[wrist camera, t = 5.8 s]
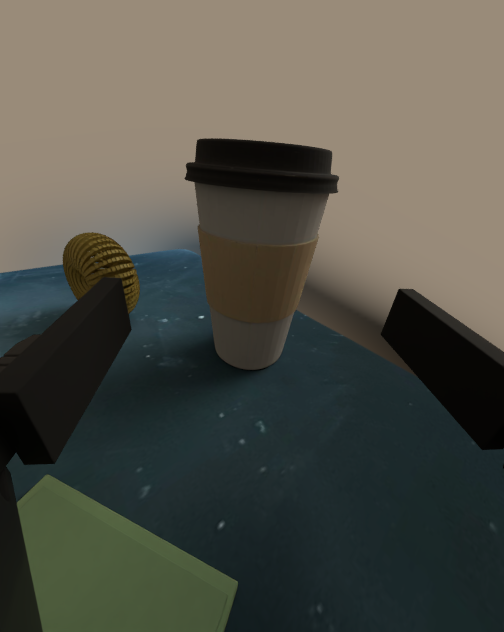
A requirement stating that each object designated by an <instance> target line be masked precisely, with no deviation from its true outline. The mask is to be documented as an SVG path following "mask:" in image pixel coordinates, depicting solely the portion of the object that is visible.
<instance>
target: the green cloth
mask: <svg viewBox="0 0 504 632" xmlns="http://www.w3.org/2000/svg"><path fill="white" fill-rule="evenodd" d="M17 508H18V512H19V517H20V522H21V527H22V532H23V537H24V542H25V546H26V551H27V556H28V561H29V566H30V571H31V576H32V581H33V585H34V590H35V595H36V600H37V605H38V610H39V615H40V619H41V624H42V629H43V632H224V631H225V627H226V624H227V621H228V617H229V614H230V611H231V608H232V604H233V601H234V598H235V594H236V591H237V587H238V582H237V581H236V580H234V579H232V578H230V577H229V576H227V575H225V574H223V573H221V572H220V571H218V570H216V569H214V568H213V567H211V566H209V565H207V564H206V563H204V562H202V561H200V560H199V559H197V558H195V557H193V556H191V555H190V554H188V553H186V552H184V551H183V550H181V549H179V548H177V547H176V546H174V545H172V544H170V543H169V542H167V541H165V540H163V539H161V538H160V537H158V536H156V535H154V534H153V533H151V532H149V531H147V530H146V529H144V528H142V527H140V526H139V525H137V524H135V523H133V522H131V521H130V520H128V519H126V518H124V517H123V516H121V515H119V514H117V513H116V512H114V511H112V510H110V509H108V508H107V507H105V506H103V505H101V504H100V503H98V502H96V501H94V500H93V499H91V498H89V497H87V496H86V495H84V494H82V493H80V492H78V491H77V490H75V489H73V488H71V487H70V486H68V485H66V484H64V483H63V482H61V481H59V480H57V479H56V478H54V477H52V476H50V475H48V474H47V475H46V476H44V477H43V478H42V479H41V480H40V481H39V482H38V483H37V484H36V485H35V486H34V487H33V488H32V489H31V490H30V491H29V492H28V493H27V494H26V495H24V496H23V497H22V498H21V499H20V500H19V501H18V502H17Z"/></svg>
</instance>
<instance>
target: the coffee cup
mask: <svg viewBox="0 0 504 632" xmlns="http://www.w3.org/2000/svg"><path fill="white" fill-rule="evenodd" d="M331 162H332V152H331V151H330V150H326V149H322V148H315V147H309V146H302V145H294V144H285V143H275V142H264V141H252V140H237V139H199V140H197V146H196V158H195V162H194V163H193V162H192V163H187V164H186V168H187V174H186V177H185V180H188V181H193V182H195V190H196V198H197V206H198V214H199V223H200V224H199V226H198V233H199V242H200V249H201V257H202V265H203V273H204V281H205V288H206V296H207V301H208V304H209V305H210V312H211V320H212V328H213V336H214V343H215V349H216V352H217V354H218V356H219V357H220V358H221V359H222V360H224V361H225V362H227V363H228V364H230V365H232V366H234V367H237V368H241V369H246V370H257V369H262V368H265V367H268V366H270V365H272V364H273V363H274V362H276V361H277V359H278V358H279V357H280V355H281V353H282V350H283V346H284V343H285V340H286V337H287V333H288V330H289V327H290V323H291V320H292V317H293V314H294V312H295V310H296V309H297V307H298V304H299V300H300V297H301V294H302V291H303V287H304V284H305V281H306V277H307V274H308V271H309V267H310V264H311V261H312V258H313V254H314V251H315V248H316V244H317V241H318V238H319V237H318V234H317V233H318V230H319V226H320V223H321V219H322V216H323V213H324V210H325V206H326V203H327V200H328V196H329V193H337V192H338V191H337V182H338V180H339V177H338V176H337V175H332V174H331Z"/></svg>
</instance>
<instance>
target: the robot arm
mask: <svg viewBox="0 0 504 632" xmlns="http://www.w3.org/2000/svg"><path fill="white" fill-rule="evenodd" d="M130 331H131V324H130V319H129V314H128V309H127V304H126V298H125V293H124V288H123V283H122V278H115V277H103V278H102V279H101V280H100V281H98V282H97V283H96V284H95V285H94V286H93V287H92V288H91V289H90V290H89V291H88V292H87V293H85V294H84V295H83V296H82V297H81V298H80V299H79V300H78V301H77V302H76V303H75V304H74V305H73V306H71V307H70V308H69V309H68V310H67V311H66V312H65V313H64V314H63V315H62V316H61V317H60V318H58V319H57V320H56V321H55V322H54V323H53V324H52V325H51V326H50V327H49V328H48V329H47V330H46V331H44V332H43V333H42V334H41V335H32V336H30V337H28V338H27V339H25V340H23V341H21V342H19V343H17V344H16V345H15V346H13V347H12V348H11V349H10V350H9V351H8V352H6V353H5V354H4V357H1V358H0V632H43V629H42V624H41V619H40V615H39V610H38V605H37V600H36V595H35V590H34V585H33V581H32V576H31V571H30V566H29V561H28V556H27V551H26V546H25V542H24V537H23V532H22V527H21V522H20V517H19V512H18V508H17V503H16V498H15V493H14V488H13V483H12V478H11V474H10V472H9V470H8V469H7V467H6V465H7V464H8V462H9V461H10V460H11V458H12V457H13V456H14V454H15V453H17V454H18V456H19V457H20V459H21V460H22V462H23V464H24V465H32V464H55V462H56V460H57V459H58V457H59V455H60V453H61V452H62V450H63V448H64V446H65V445H66V443H67V441H68V439H69V438H70V436H71V434H72V432H73V431H74V429H75V427H76V425H77V424H78V422H79V420H80V419H81V417H82V415H83V413H84V412H85V410H86V408H87V406H88V405H89V403H90V401H91V399H92V398H93V396H94V394H95V392H96V391H97V389H98V387H99V385H100V384H101V382H102V380H103V378H104V377H105V375H106V373H107V372H108V370H109V368H110V366H111V365H112V363H113V361H114V359H115V358H116V356H117V354H118V352H119V351H120V349H121V347H122V345H123V344H124V342H125V340H126V338H127V337H128V335H129V333H130ZM381 335H382V337H384V339H385V340H386V341H387V342H388V343H389V345H390V346H391V347H392V348H393V349H394V350H395V351H396V352H397V354H398V355H399V356H400V357H401V358H402V359H403V360H404V362H405V363H406V364H407V365H408V366H409V367H410V368H411V370H413V372H414V373H415V374H416V375H417V376H418V378H419V379H420V380H421V381H422V382H423V383H424V384H425V386H426V387H427V388H428V389H429V390H430V391H431V392H432V394H433V395H434V396H435V397H436V398H437V399H438V400H439V401H440V403H441V404H442V405H443V406H444V407H445V408H446V409H447V411H448V412H449V413H450V414H451V415H452V416H453V417H454V419H455V420H456V421H457V422H458V423H459V424H460V425H461V426H462V428H463V429H464V430H465V431H466V432H467V433H468V434H469V436H470V437H471V438H472V439H473V440H474V441H475V442H476V444H477V445H478V446H479V447H480V448H481V449H482V450H490V449H503V448H504V352H503V351H501V350H500V349H498V348H497V347H496V346H494V345H493V344H491V343H489V341H487V340H486V339H484V338H483V337H481V336H480V335H478V334H477V333H475V332H474V331H473V330H471V329H469V328H468V327H467V326H465V325H464V324H463V323H461V322H460V321H458V320H457V319H455V318H454V317H452V316H451V315H449V314H448V313H447V312H445V311H444V310H442V309H441V308H439V307H438V306H437V305H435V304H434V303H432V302H431V301H429V300H428V299H426V298H425V297H424V296H422V295H421V294H419V293H418V292H416V291H415V290H413V289H399V290H398V292H397V295H396V297H395V300H394V302H393V305H392V307H391V310H390V312H389V315H388V317H387V320H386V322H385V325H384V327H383V330H382V332H381ZM503 468H504V465H503Z"/></svg>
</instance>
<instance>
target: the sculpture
mask: <svg viewBox="0 0 504 632" xmlns="http://www.w3.org/2000/svg"><path fill="white" fill-rule="evenodd" d="M93 256H94V257H93ZM90 257H93V258H90ZM96 262H98V263H96ZM99 262H100V263H99ZM63 267H64V272H65V276H66V277H67V278H66V279H67V281H68V282H69V283H68V284H69V286H70V287H71V290H72V291H73V294H74V295H75V297H76V298H77V299H78V300H79V299H80V298H81V297H82V296H83V295H84V294H85V293H87V292H88V291H89V290H90V289H91V288H92V287H93V286H94V285H95V284H96V283H97V282H98V281H100V280H101V279H102V278H103V277H115V278H122V283H123V288H124V293H125V298H126V304H127V309H128V314H129V313H130V312H131V311H132V310H133V309H134V308H135V305H136V304H137V302H138V298H139V293H140V292H139V290H140V287H139V281H138V275H137V274H136V273H137V272H136V269H133V268H134V264H133V263H132V261H131V259H130V258H129V256H128V254H127V253H126V252H125V251H124V249H123V248H122V247H121V246H120V245H119V244H118V243H117V242H115V241H114V240H112V239H111V238H109V237H107V236H106V235H102V234H98V233H93V232H92V233H83V234H80V235H77V236H76V237H74V238H72V239H71V240H70V241H69V242H68V244H67V245H66V248H65V250H64V254H63ZM102 267H103V268H104V269H100V268H102ZM89 268H90V269H89ZM106 268H107V269H106ZM130 269H131V270H130ZM92 273H94V274H92Z"/></svg>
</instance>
